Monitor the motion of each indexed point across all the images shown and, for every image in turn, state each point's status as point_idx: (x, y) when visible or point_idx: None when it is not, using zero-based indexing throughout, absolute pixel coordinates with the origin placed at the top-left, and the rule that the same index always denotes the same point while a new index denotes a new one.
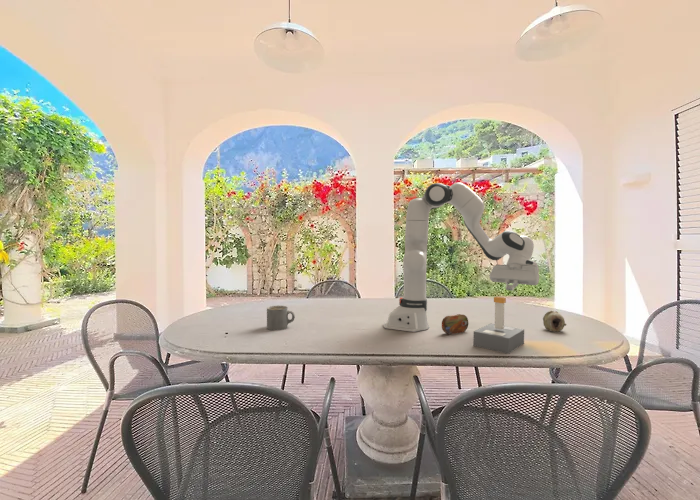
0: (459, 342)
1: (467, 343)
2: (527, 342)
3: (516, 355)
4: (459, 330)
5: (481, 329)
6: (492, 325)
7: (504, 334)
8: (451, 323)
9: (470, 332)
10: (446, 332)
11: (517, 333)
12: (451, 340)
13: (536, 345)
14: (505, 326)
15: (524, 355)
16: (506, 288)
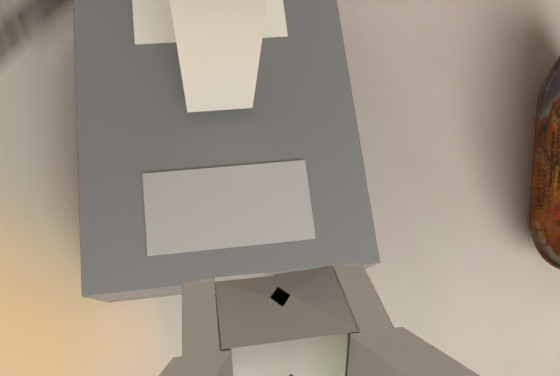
0: (396, 5)
1: (356, 21)
2: (99, 349)
3: (52, 25)
4: (546, 187)
5: (319, 27)
6: (331, 201)
7: (134, 17)
8: None
9: (498, 256)
10: (556, 76)
11: (77, 125)
12: (448, 4)
13: (22, 327)
14: (241, 258)
15: (16, 58)
16: (333, 269)
